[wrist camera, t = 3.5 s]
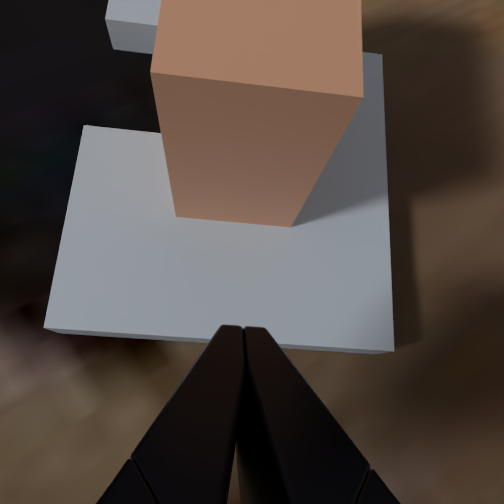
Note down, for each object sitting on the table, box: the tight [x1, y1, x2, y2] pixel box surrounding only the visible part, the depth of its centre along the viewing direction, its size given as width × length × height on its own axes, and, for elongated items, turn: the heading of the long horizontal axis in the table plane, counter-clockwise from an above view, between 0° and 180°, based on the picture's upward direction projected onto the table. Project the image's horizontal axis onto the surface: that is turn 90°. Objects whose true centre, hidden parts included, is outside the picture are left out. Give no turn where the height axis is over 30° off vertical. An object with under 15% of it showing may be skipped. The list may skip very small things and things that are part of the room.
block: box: [150, 0, 363, 227], centre depth 16 cm, size 10×5×9 cm, turn 177°
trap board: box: [44, 0, 394, 354], centre depth 22 cm, size 30×14×4 cm, turn 177°
